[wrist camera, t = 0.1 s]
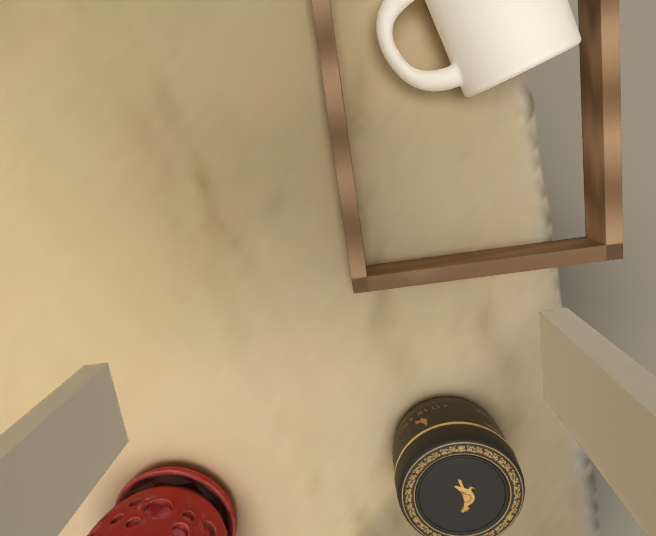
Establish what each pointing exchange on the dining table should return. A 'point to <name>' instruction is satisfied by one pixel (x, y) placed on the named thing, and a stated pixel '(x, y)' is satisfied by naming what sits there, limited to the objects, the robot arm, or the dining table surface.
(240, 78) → the dining table surface
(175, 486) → the plant pot
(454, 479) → the jar
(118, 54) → the dining table surface
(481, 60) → the mug
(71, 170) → the dining table surface
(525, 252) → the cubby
